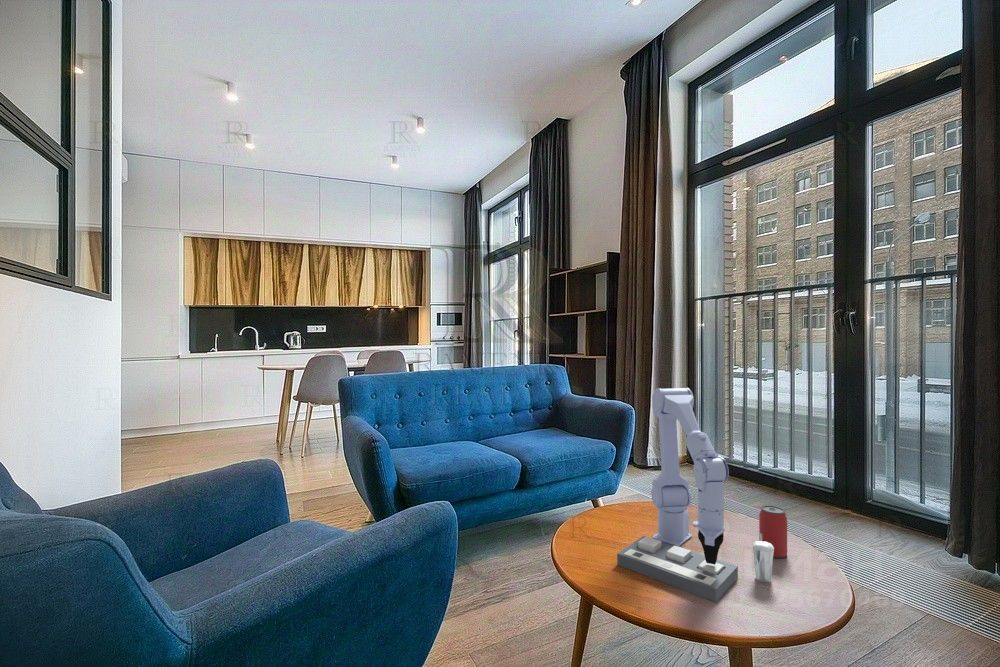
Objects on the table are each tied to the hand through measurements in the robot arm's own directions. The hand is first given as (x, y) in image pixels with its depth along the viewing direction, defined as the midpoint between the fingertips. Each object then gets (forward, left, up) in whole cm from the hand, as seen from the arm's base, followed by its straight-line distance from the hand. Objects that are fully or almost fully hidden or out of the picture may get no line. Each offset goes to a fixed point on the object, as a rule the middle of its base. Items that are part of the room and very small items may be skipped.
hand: (710, 562), depth 118 cm
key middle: (0, -8, -3) cm, 8 cm away
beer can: (-25, +7, -4) cm, 26 cm away
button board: (+2, -8, -4) cm, 9 cm away
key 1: (0, -16, -3) cm, 16 cm away
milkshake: (-9, +9, -4) cm, 13 cm away
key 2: (0, 0, -4) cm, 4 cm away
